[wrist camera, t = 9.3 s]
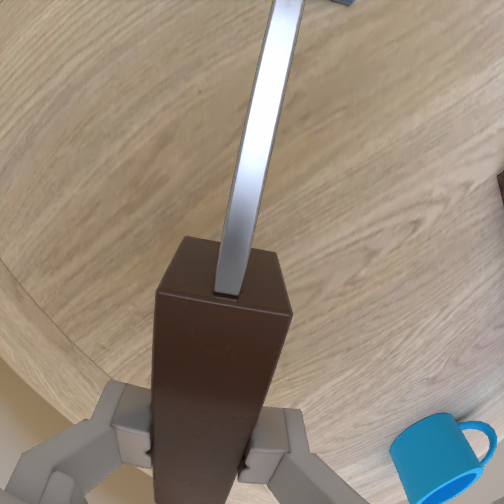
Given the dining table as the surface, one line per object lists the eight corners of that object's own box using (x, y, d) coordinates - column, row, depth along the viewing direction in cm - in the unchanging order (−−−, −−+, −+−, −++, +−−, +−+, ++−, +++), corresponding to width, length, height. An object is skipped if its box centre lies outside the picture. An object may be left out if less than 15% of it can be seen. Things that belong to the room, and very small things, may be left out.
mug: (388, 466, 29) (408, 519, 21) (390, 432, 26) (416, 495, 19) (472, 427, 28) (499, 471, 21) (485, 387, 25) (521, 436, 18)
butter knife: (165, 444, 11) (154, 503, 8) (270, -112, 4) (279, -171, 1) (223, 453, 11) (221, 514, 8) (350, -93, 5) (381, -146, 2)
